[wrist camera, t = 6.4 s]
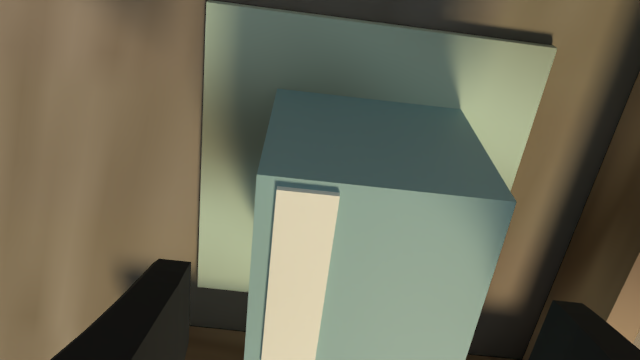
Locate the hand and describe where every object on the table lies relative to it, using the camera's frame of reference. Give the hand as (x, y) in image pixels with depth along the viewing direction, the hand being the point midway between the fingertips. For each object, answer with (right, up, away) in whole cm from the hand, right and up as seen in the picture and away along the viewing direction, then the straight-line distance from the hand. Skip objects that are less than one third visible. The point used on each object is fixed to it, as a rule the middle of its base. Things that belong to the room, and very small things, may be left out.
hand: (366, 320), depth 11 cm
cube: (0, +3, +5) cm, 6 cm away
